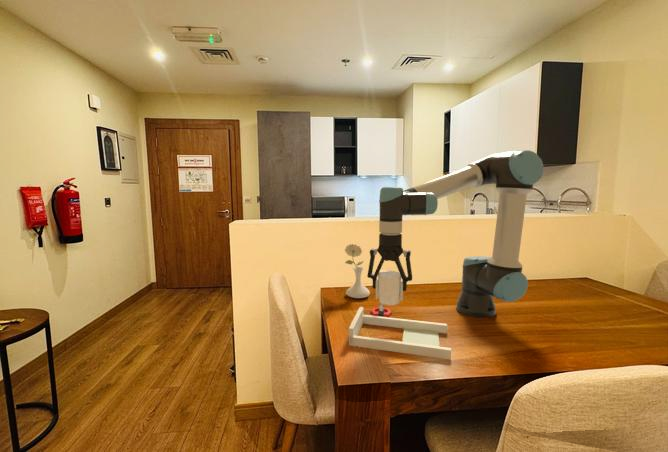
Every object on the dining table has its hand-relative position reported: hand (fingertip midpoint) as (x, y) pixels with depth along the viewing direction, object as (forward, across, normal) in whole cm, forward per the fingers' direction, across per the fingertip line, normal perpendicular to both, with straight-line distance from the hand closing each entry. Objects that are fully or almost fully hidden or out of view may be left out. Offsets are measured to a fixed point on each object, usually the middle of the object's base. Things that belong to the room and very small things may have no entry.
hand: (389, 298), depth 110 cm
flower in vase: (+14, +19, -37) cm, 44 cm away
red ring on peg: (+14, +5, -20) cm, 25 cm away
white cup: (+1, 0, 0) cm, 1 cm away
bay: (+14, -4, 0) cm, 15 cm away
